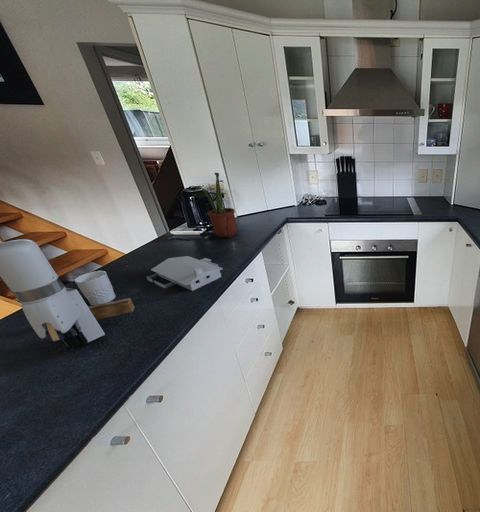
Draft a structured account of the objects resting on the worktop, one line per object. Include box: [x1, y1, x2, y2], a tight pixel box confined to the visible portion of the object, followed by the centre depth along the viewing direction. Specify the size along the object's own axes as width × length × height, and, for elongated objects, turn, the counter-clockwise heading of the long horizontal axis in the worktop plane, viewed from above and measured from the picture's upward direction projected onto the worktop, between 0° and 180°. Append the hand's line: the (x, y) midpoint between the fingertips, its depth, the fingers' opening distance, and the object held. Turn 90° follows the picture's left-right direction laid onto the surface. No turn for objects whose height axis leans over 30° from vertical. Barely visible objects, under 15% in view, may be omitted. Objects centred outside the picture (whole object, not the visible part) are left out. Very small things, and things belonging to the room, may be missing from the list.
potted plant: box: [191, 172, 238, 240], centre depth 144 cm, size 17×16×35 cm
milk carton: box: [62, 287, 106, 351], centre depth 76 cm, size 7×7×19 cm
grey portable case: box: [145, 255, 224, 292], centre depth 114 cm, size 25×24×7 cm
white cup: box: [74, 270, 117, 306], centre depth 96 cm, size 8×8×10 cm
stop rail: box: [88, 297, 136, 321], centre depth 89 cm, size 16×3×5 cm, turn 118°
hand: (79, 345), depth 74 cm, fingers closed
